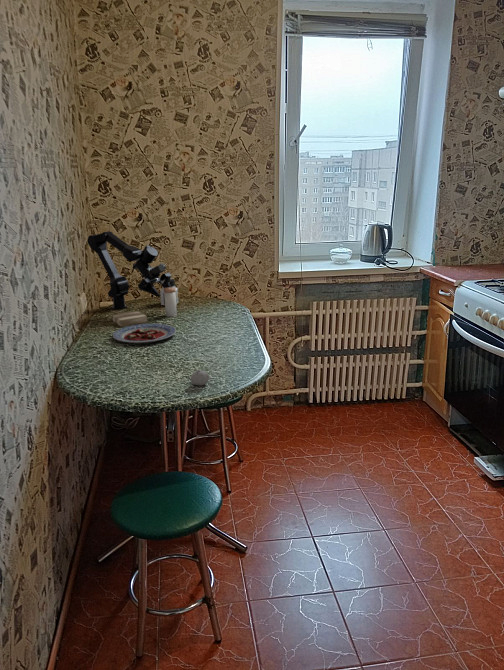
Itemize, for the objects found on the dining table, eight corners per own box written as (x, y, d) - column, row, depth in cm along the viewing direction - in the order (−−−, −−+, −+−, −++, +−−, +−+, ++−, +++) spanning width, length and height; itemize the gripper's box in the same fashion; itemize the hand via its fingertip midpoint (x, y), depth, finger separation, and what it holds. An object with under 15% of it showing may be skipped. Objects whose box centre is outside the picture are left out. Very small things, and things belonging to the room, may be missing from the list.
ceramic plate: (163, 348, 209) (163, 341, 208) (102, 345, 214) (101, 338, 213) (184, 329, 233) (184, 322, 232) (129, 327, 238) (128, 321, 237)
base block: (113, 321, 248) (112, 314, 247) (137, 317, 254) (137, 310, 253) (121, 326, 238) (121, 320, 237) (147, 322, 244) (146, 316, 243)
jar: (163, 315, 256) (161, 288, 252) (174, 313, 259) (172, 286, 255) (168, 317, 252) (166, 290, 248) (179, 315, 254) (177, 288, 250)
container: (176, 305, 274) (174, 280, 270) (161, 305, 274) (159, 280, 270) (178, 302, 281) (176, 277, 277) (163, 302, 281) (161, 277, 278)
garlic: (196, 389, 168) (195, 373, 167) (187, 384, 172) (187, 368, 171) (212, 384, 172) (212, 369, 170) (204, 379, 176) (203, 364, 174)
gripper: (140, 261, 244) (161, 287, 241) (167, 255, 259) (186, 280, 257) (129, 277, 250) (149, 303, 248) (155, 271, 265) (175, 294, 263)
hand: (165, 294), depth 254 cm, fingers open, 9 cm apart
